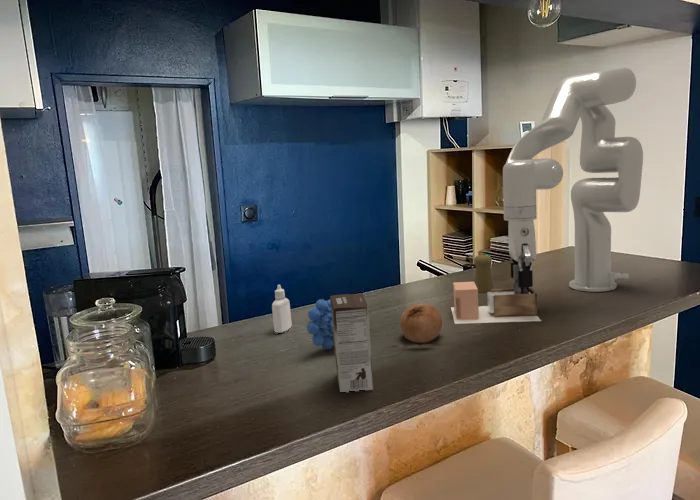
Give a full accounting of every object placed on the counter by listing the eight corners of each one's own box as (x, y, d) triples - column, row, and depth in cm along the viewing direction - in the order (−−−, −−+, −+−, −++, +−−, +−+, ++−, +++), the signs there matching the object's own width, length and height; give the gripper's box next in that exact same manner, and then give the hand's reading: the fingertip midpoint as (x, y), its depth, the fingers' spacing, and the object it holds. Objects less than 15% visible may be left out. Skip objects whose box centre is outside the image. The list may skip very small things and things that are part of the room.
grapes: (324, 361, 110) (319, 307, 108) (302, 355, 114) (297, 302, 112) (360, 345, 118) (356, 293, 116) (338, 339, 123) (334, 290, 121)
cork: (492, 288, 158) (491, 253, 157) (495, 293, 153) (494, 256, 151) (472, 289, 159) (471, 254, 157) (475, 294, 153) (473, 257, 151)
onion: (420, 360, 114) (410, 328, 109) (397, 338, 122) (387, 307, 116) (454, 338, 117) (446, 305, 111) (429, 318, 124) (421, 286, 119)
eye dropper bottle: (297, 329, 133) (293, 283, 131) (278, 335, 129) (273, 288, 127) (288, 326, 136) (284, 281, 134) (269, 331, 133) (264, 286, 131)
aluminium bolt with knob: (528, 306, 131) (527, 263, 129) (532, 311, 127) (531, 266, 125) (487, 307, 132) (486, 265, 131) (490, 312, 128) (488, 268, 126)
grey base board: (528, 308, 136) (528, 304, 136) (541, 324, 122) (541, 320, 122) (451, 310, 139) (450, 307, 139) (455, 327, 125) (454, 323, 125)
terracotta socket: (475, 309, 135) (474, 281, 134) (478, 319, 127) (477, 289, 126) (454, 310, 136) (453, 282, 134) (456, 319, 128) (455, 290, 126)
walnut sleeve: (531, 308, 132) (531, 287, 131) (537, 315, 126) (536, 293, 125) (491, 310, 133) (490, 289, 132) (494, 317, 127) (494, 295, 127)
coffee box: (336, 374, 103) (329, 295, 100) (368, 370, 103) (362, 292, 101) (339, 394, 94) (332, 307, 91) (374, 390, 94) (368, 304, 92)
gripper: (544, 216, 116) (545, 290, 119) (528, 208, 133) (529, 273, 136) (510, 218, 117) (512, 291, 120) (498, 210, 134) (500, 275, 137)
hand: (521, 282), depth 128 cm, fingers open, 9 cm apart
